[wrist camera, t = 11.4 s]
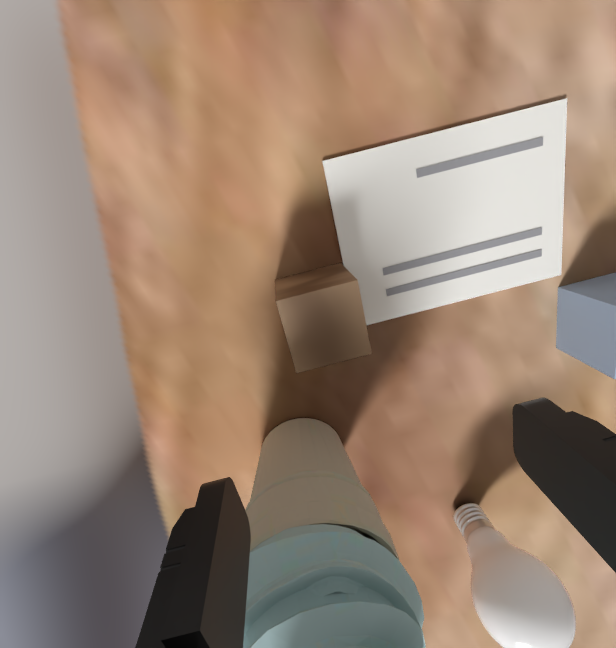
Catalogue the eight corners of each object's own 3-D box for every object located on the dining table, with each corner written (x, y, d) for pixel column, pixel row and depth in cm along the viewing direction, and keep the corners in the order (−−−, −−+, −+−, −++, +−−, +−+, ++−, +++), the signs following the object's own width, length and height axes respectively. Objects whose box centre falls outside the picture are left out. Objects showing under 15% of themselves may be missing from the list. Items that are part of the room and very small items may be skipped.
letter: (564, 99, 21) (567, 98, 21) (559, 274, 25) (561, 275, 25) (322, 161, 21) (322, 160, 20) (355, 326, 25) (356, 328, 24)
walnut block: (340, 262, 23) (357, 279, 18) (353, 323, 25) (371, 353, 20) (275, 279, 23) (275, 301, 18) (291, 339, 25) (296, 373, 20)
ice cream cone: (310, 369, 26) (410, 841, 7) (386, 461, 29) (584, 927, 11) (205, 442, 27) (52, 1000, 8) (290, 521, 31) (318, 1028, 12)
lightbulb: (476, 469, 31) (578, 608, 20) (508, 507, 33) (616, 650, 22) (417, 508, 32) (487, 659, 21) (452, 543, 34) (531, 695, 23)
